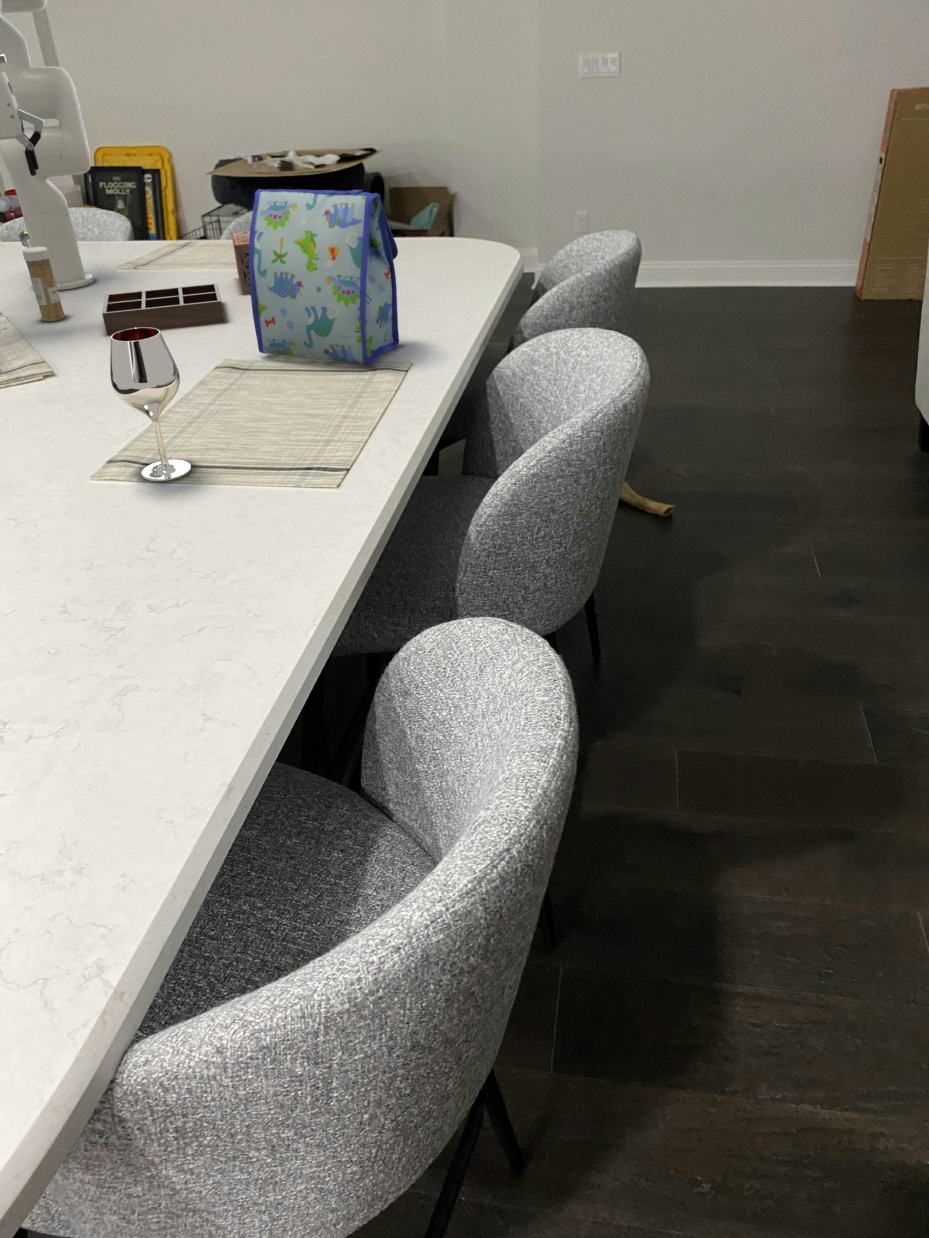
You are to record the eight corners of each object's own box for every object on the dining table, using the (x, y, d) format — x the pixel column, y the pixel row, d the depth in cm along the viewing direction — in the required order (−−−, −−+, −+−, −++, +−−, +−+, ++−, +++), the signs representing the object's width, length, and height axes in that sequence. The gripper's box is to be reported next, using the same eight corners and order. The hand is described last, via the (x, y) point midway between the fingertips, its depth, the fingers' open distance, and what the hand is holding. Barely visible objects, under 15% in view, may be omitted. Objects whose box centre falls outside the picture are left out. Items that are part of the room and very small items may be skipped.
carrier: (110, 315, 187) (105, 294, 185) (220, 303, 192) (217, 283, 189) (107, 335, 175) (102, 313, 173) (225, 322, 180) (221, 301, 177)
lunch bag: (408, 340, 166) (398, 182, 151) (371, 370, 153) (355, 200, 138) (298, 333, 172) (278, 179, 158) (253, 361, 159) (227, 197, 145)
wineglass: (141, 460, 125) (109, 326, 115) (202, 456, 125) (175, 323, 116) (128, 486, 118) (92, 346, 108) (193, 482, 119) (163, 342, 109)
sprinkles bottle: (68, 319, 185) (49, 248, 178) (44, 323, 183) (24, 252, 176) (62, 314, 189) (43, 245, 181) (39, 318, 187) (19, 248, 179)
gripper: (30, 60, 157) (58, 170, 167) (-80, 65, 154) (-45, 177, 163) (25, 61, 151) (54, 176, 161) (-89, 67, 148) (-53, 184, 157)
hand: (4, 176), depth 162 cm, fingers open, 9 cm apart
